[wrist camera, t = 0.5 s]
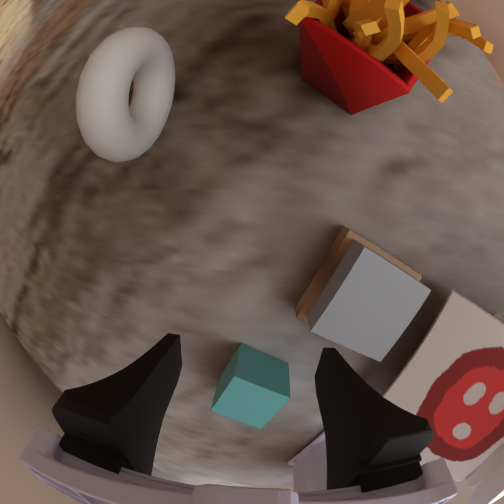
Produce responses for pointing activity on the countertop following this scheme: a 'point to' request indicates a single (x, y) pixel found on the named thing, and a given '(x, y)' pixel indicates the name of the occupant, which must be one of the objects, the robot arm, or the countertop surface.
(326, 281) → the block
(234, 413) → the teal cube
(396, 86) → the french fries
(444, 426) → the stacked pizza boxes
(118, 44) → the donut
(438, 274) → the countertop surface
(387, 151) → the countertop surface
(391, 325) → the tower top
